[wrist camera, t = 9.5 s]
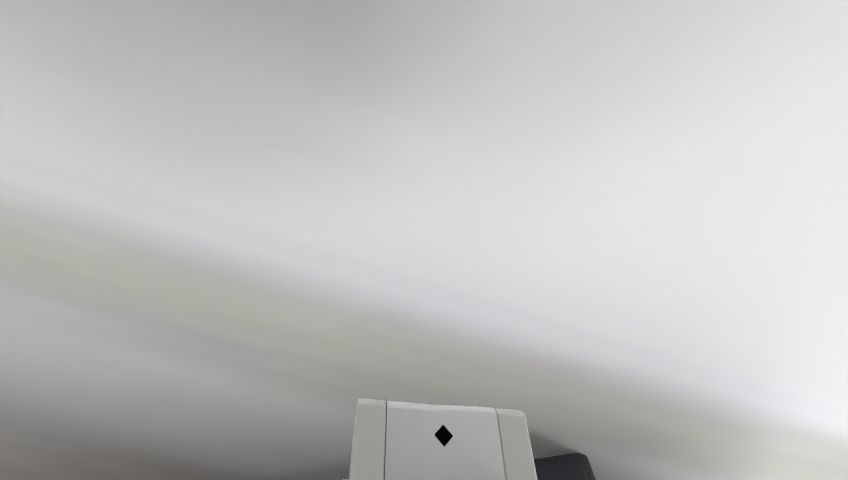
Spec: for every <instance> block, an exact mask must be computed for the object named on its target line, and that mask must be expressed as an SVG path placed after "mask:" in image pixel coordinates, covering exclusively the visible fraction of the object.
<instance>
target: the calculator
mask: <svg viewBox="0 0 848 480" xmlns="http://www.w3.org/2000/svg"><path fill="white" fill-rule="evenodd" d="M534 464H535V469H536V474H537V480H595V477H594V474H593V472H592V469H591V466H590V464H589V461H588V458H587V457H586V456H585V455H583V454H579V453H574V454H566V455H560V456H554V457H548V458H541V459H535V460H534Z"/></svg>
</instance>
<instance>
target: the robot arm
mask: <svg viewBox="0 0 848 480" xmlns="http://www.w3.org/2000/svg"><path fill="white" fill-rule="evenodd" d="M342 480H537V474H536V469H535V464H534V458H533V453H532V448H531V442H530V437H529V432H528V427H527V421H526V416H525V414H524V412H523V411H522V410H512V409H498V408H495V409H494V408H491V407H474V406H457V405H430V404H420V403H410V402H400V401H389V400H387V401H386V400H376V399H365V398H358V400H357V406H356V415H355V424H354V434H353V443H352V452H351V462H350V473H349V479H342Z"/></svg>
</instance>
